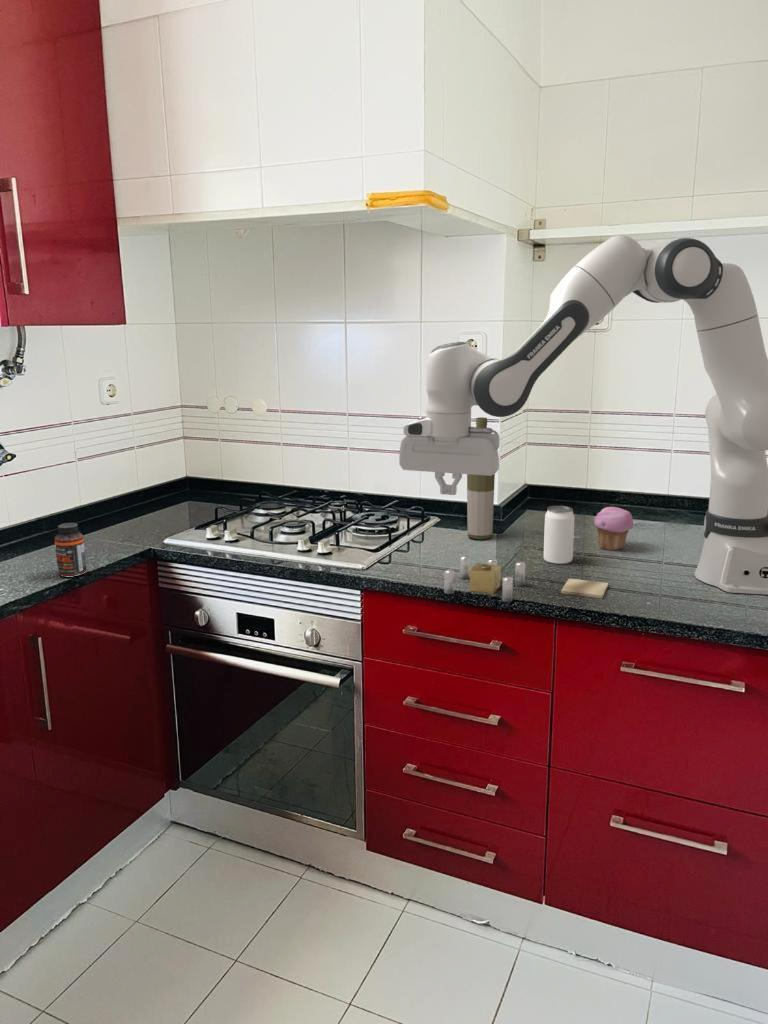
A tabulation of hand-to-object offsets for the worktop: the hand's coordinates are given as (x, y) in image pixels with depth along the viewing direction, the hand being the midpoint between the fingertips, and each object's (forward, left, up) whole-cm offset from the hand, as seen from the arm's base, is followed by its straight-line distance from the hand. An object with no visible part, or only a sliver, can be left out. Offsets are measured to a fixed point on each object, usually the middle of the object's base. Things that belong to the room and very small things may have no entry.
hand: (448, 494), depth 159 cm
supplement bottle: (+79, +24, -19) cm, 85 cm away
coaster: (-27, -7, -19) cm, 34 cm away
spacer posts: (-8, 0, -19) cm, 21 cm away
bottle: (+4, -36, -19) cm, 41 cm away
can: (-18, -24, -19) cm, 36 cm away
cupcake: (-28, -38, -19) cm, 51 cm away
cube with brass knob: (-8, 0, -19) cm, 21 cm away
